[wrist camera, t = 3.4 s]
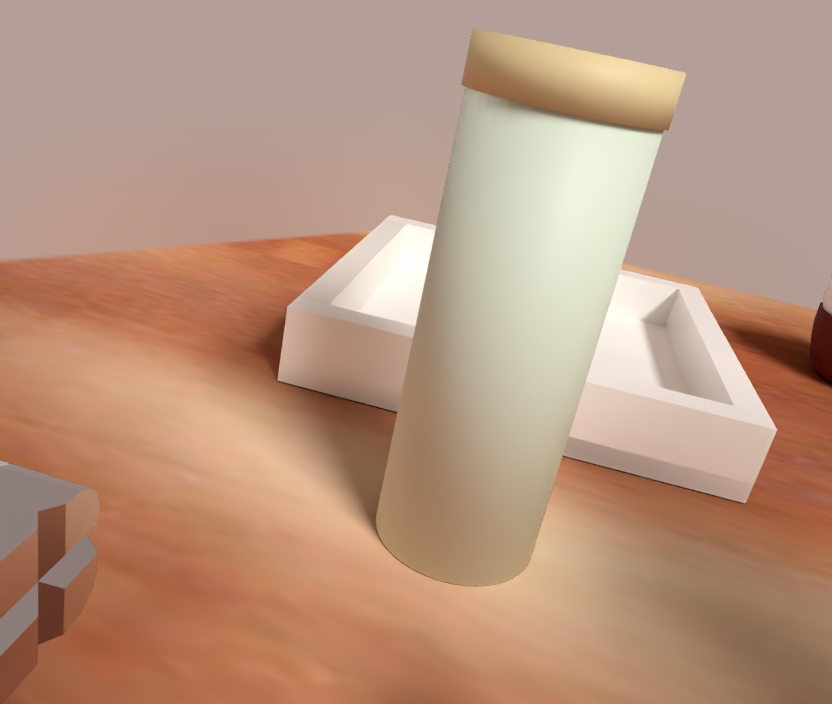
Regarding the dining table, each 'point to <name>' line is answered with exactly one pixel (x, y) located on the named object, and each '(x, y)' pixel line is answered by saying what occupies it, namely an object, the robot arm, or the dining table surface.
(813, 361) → the cocoa
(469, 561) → the tea tin
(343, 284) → the dish
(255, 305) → the dining table surface
